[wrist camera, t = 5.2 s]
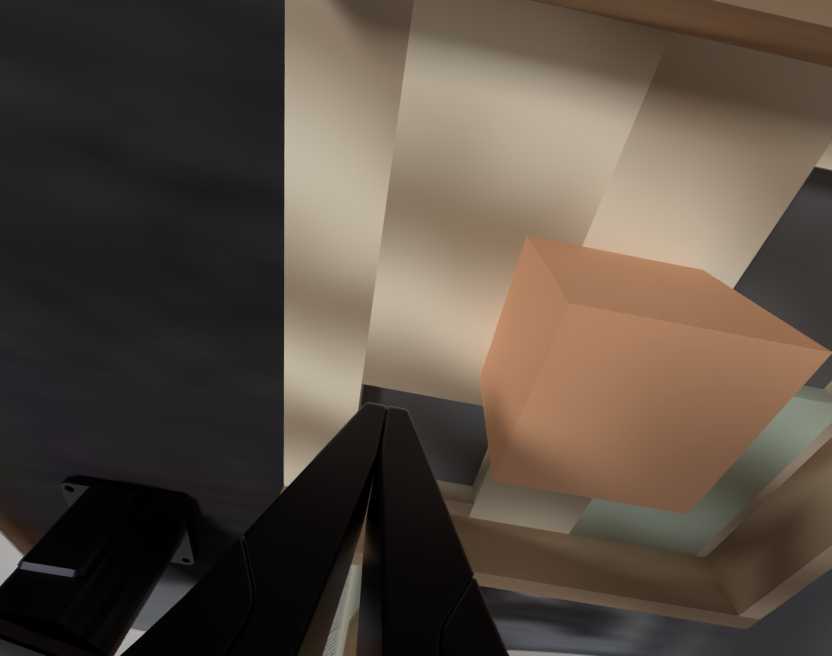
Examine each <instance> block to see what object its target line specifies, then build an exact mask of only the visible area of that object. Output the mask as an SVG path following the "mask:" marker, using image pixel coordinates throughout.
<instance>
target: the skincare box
mask: <svg viewBox="0 0 832 656" xmlns="http://www.w3.org/2000/svg"><path fill="white" fill-rule="evenodd" d="M361 577H362V566H358V565H351V566H350V570H349V573H348V576H347V579H346V582H345V585H344V589H343V592H342V595H341V598H340V601H339V605H338V608H337V611H336V614H335V617H334V621H333V624H332V627H331V630H330V633H329V636H328V640H327V643H326V646H325V649H324V652H323V656H356V648H357V633H358V619H359V605H360V591H361Z"/></svg>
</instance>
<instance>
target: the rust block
mask: <svg viewBox="0 0 832 656" xmlns="http://www.w3.org/2000/svg"><path fill="white" fill-rule="evenodd" d="M831 354H832V352H831V351H829V350H828V349H826V348H824V347H823V346H821V345H820V344H818V343H817V342H815V341H814V340H812V339H810V338H809V337H807V336H806V335H804V334H803V333H801V332H799V331H798V330H796V329H795V328H793V327H792V326H790V325H788V324H787V323H785V322H784V321H782V320H781V319H779V318H777V317H776V316H774V315H773V314H771V313H770V312H768V311H767V310H765V309H763V308H762V307H760V306H759V305H757V304H756V303H754V302H752V301H751V300H749V299H748V298H746V297H745V296H743V295H741V294H740V293H738V292H737V291H735V290H734V289H732V288H730V287H729V286H727V285H726V284H724V283H723V282H721V281H720V280H718V279H716V278H715V277H713V276H712V275H710V274H709V273H707V272H705V271H704V270H701V269H696V268H691V267H686V266H681V265H676V264H670V263H665V262H660V261H655V260H650V259H645V258H640V257H634V256H629V255H624V254H619V253H614V252H609V251H604V250H598V249H593V248H588V247H583V246H578V245H573V244H568V243H562V242H557V241H552V240H547V239H542V238H537V237H532V236H527V237H526V240H525V243H524V246H523V249H522V252H521V255H520V258H519V261H518V264H517V267H516V270H515V273H514V276H513V279H512V282H511V285H510V288H509V291H508V294H507V297H506V300H505V303H504V306H503V309H502V312H501V315H500V318H499V321H498V324H497V327H496V330H495V333H494V336H493V339H492V342H491V345H490V348H489V351H488V354H487V357H486V360H485V363H484V366H483V369H482V372H481V375H480V386H481V394H482V401H483V409H484V417H485V425H486V432H487V440H488V448H489V455H490V463H491V471H492V479H493V481H495V482H501V483H507V484H513V485H519V486H525V487H530V488H536V489H542V490H548V491H554V492H560V493H565V494H571V495H577V496H583V497H589V498H594V499H600V500H606V501H612V502H618V503H624V504H629V505H635V506H641V507H647V508H653V509H659V510H664V511H670V512H676V513H682V514H688V513H689V512H690V511H691V510H692V509H693V508H694V507H695V506H696V504H697V503H698V502H699V501H700V500H701V499H702V498H703V497H704V495H705V494H706V493H707V492H708V491H709V490H710V489H711V488H712V487H713V485H714V484H715V483H716V482H717V481H718V480H719V479H720V478H721V477H722V475H723V474H724V473H725V472H726V471H727V470H728V469H729V468H730V467H731V465H732V464H733V463H734V462H735V461H736V460H737V459H738V458H739V456H740V455H741V454H742V453H743V452H744V451H745V450H746V449H747V448H748V446H749V445H750V444H751V443H752V442H753V441H754V440H755V439H756V438H757V436H758V435H759V434H760V433H761V432H762V431H763V430H764V429H765V428H766V426H767V425H768V424H769V423H770V422H771V421H772V420H773V419H774V418H775V416H776V415H777V414H778V413H779V412H780V411H781V410H782V409H783V407H784V406H785V405H786V404H787V403H788V402H789V401H790V400H791V399H792V397H793V396H794V395H795V394H796V393H797V392H798V391H799V390H800V389H801V387H802V386H803V385H804V384H805V383H806V382H807V381H808V380H809V379H810V377H811V376H812V375H813V374H814V373H815V372H816V371H817V370H818V368H819V367H820V366H821V365H822V364H823V363H824V362H825V361H826V360H827V358H828V357H829V356H830V355H831Z"/></svg>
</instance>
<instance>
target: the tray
mask: <svg viewBox="0 0 832 656" xmlns="http://www.w3.org/2000/svg"><path fill="white" fill-rule="evenodd" d="M527 236H532V237H537V238H542V239H547V240H552V241H557V242H562V243H568V244H573V245H578V246H583V247H588V248H593V249H598V250H604V251H609V252H614V253H619V254H624V255H629V256H634V257H640V258H645V259H650V260H655V261H660V262H665V263H670V264H676V265H681V266H686V267H691V268H696V269H701V270H704V271H705V272H707V273H709V274H710V275H712V276H713V277H715V278H716V279H718V280H720V281H721V282H723V283H724V284H726V285H727V286H729V287H730V288H732V289H734V290H735V291H737V292H738V293H740V294H741V295H743V296H745V297H746V298H748V299H749V300H751V301H752V302H754V303H756V304H757V305H759V306H760V307H762V308H763V309H765V310H767V311H768V312H770V313H771V314H773V315H774V316H776V317H777V318H779V319H781V320H782V321H784V322H785V323H787V324H788V325H790V326H792V327H793V328H795V329H796V330H798V331H799V332H801V333H803V334H804V335H806V336H807V337H809V338H810V339H812V340H814V341H815V342H817V343H818V344H820V345H821V346H823V347H824V348H826V349H828V350H829V351H831V352H832V0H285V253H284V487H283V489H282V491H281V493H282V492H283V491H284V490H285V489H286V488H287V487H288V486H289V485H290V484H291V483H292V482H293V480H294V479H295V478H296V477H297V476H298V475H299V474H300V473H301V472H302V471H303V470H304V469H305V468H306V466H307V465H308V464H309V463H310V462H311V461H312V460H313V459H314V458H315V457H316V456H317V455H318V453H319V452H320V451H321V450H322V449H323V448H324V447H325V446H326V445H327V444H328V443H329V442H330V441H331V439H332V438H333V437H334V436H335V435H336V434H337V433H338V432H339V431H340V430H341V429H342V428H343V427H344V425H345V424H346V423H347V422H348V421H349V420H350V419H351V418H352V417H353V416H354V415H355V414H356V413H357V411H358V410H359V409H360V408H361V407H362V406H363V405H364V404H365V403H367V402H372V403H377V404H382V405H385V406H386V410H387V408H388V407H389V406H393V407H399V408H404V409H407V410H408V411H409V413H410V416H411V418H412V421H413V423H414V426H415V428H416V431H417V433H418V436H419V438H420V441H421V443H422V446H423V448H424V451H425V453H426V456H427V458H428V461H429V463H430V466H431V468H432V471H433V473H434V476H435V478H436V480H437V483H438V485H439V488H440V490H441V493H442V495H443V498H444V500H445V503H446V505H447V508H448V510H449V513H450V515H451V518H452V520H453V523H454V525H455V528H456V530H457V533H458V535H459V538H460V540H461V543H462V545H463V548H464V550H465V553H466V555H467V558H468V560H469V563H470V565H471V567H472V570H473V572H474V576H473V578H475V579H476V580H477V582H478V584H479V586H485V587H491V588H498V589H504V590H510V591H516V592H522V593H528V594H534V595H540V596H546V597H552V598H558V599H564V600H570V601H576V602H583V603H589V604H595V605H601V606H607V607H613V608H619V609H625V610H631V611H637V612H643V613H649V614H655V615H662V616H668V617H674V618H680V619H686V620H692V621H698V622H704V623H710V624H716V625H722V626H728V627H734V628H741V629H748V628H749V627H751V626H752V625H753V624H755V623H756V622H758V621H759V620H760V619H762V618H763V617H765V616H766V615H767V614H769V613H770V612H772V611H773V610H774V609H776V608H777V607H779V606H780V605H781V604H783V603H784V602H786V601H787V600H788V599H790V598H791V597H793V596H794V595H795V594H797V593H798V592H800V591H801V590H802V589H804V588H805V587H806V586H808V585H809V584H811V583H812V582H813V581H815V580H816V579H818V578H819V577H820V576H822V575H823V574H825V573H826V572H827V571H829V570H830V569H832V354H831V355H830V356H829V357H828V358H827V360H826V361H825V362H824V363H823V364H822V365H821V366H820V367H819V368H818V370H817V371H816V372H815V373H814V374H813V375H812V376H811V377H810V379H809V380H808V381H807V382H806V383H805V384H804V385H803V386H802V387H801V389H800V390H799V391H798V392H797V393H796V394H795V395H794V396H793V397H792V399H791V400H790V401H789V402H788V403H787V404H786V405H785V406H784V407H783V409H782V410H781V411H780V412H779V413H778V414H777V415H776V416H775V418H774V419H773V420H772V421H771V422H770V423H769V424H768V425H767V426H766V428H765V429H764V430H763V431H762V432H761V433H760V434H759V435H758V436H757V438H756V439H755V440H754V441H753V442H752V443H751V444H750V445H749V446H748V448H747V449H746V450H745V451H744V452H743V453H742V454H741V455H740V456H739V458H738V459H737V460H736V461H735V462H734V463H733V464H732V465H731V467H730V468H729V469H728V470H727V471H726V472H725V473H724V474H723V475H722V477H721V478H720V479H719V480H718V481H717V482H716V483H715V484H714V485H713V487H712V488H711V489H710V490H709V491H708V492H707V493H706V494H705V495H704V497H703V498H702V499H701V500H700V501H699V502H698V503H697V504H696V506H695V507H694V508H693V509H692V510H691V511H690V512H689V513H688V514H682V513H676V512H670V511H664V510H659V509H653V508H647V507H641V506H635V505H629V504H624V503H618V502H612V501H606V500H600V499H594V498H589V497H583V496H577V495H571V494H565V493H560V492H554V491H548V490H542V489H536V488H530V487H525V486H519V485H513V484H507V483H501V482H495V481H493V479H492V471H491V463H490V455H489V448H488V440H487V432H486V425H485V417H484V409H483V401H482V394H481V386H480V375H481V372H482V369H483V366H484V363H485V360H486V357H487V354H488V351H489V348H490V345H491V342H492V339H493V336H494V333H495V330H496V327H497V324H498V321H499V318H500V315H501V312H502V309H503V306H504V303H505V300H506V297H507V294H508V291H509V288H510V285H511V282H512V279H513V276H514V273H515V270H516V267H517V264H518V261H519V258H520V255H521V252H522V249H523V246H524V243H525V240H526V237H527ZM385 415H386V414H385ZM372 483H373V482H372ZM371 488H372V487H371ZM370 493H371V492H370ZM369 498H370V497H369ZM368 504H369V502H368ZM367 509H368V507H367ZM366 516H367V512H366ZM366 516H365V521H364V524H363V528H362V531H361V534H360V538H359V541H358V544H357V547H356V550H355V554H354V557H353V560H352V563H351V564H352V565H358V566H362V562H363V548H364V534H365V524H366Z"/></svg>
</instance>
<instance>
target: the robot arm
mask: <svg viewBox="0 0 832 656" xmlns="http://www.w3.org/2000/svg"><path fill="white" fill-rule="evenodd" d="M385 414H386V415H385ZM372 482H373V483H372ZM371 487H372V488H371ZM60 488H61V490H62V493H63V495H64V497H65V499H66V501H67V503H68V505H69V507H70V508H69V509H68V510H67V511H66V512H65V513H64V514H63V515H62V516H61V517H60V518H59V519H58V520H57V521H56V523H55V524H54V525H53V526H52V527H51V528H50V529H49V530H48V531H47V532H46V533H45V534H44V535H43V537H42V538H41V539H40V540H39V541H38V542H37V543H36V544H35V545H34V546H33V547H32V548H31V549H30V551H29V552H28V553H27V554H26V555H25V556H24V557H23V558H22V559H21V560H20V562H19V563H18V567H17V569H16V570H15V571H14V572H13V573H12V574H11V575H10V576H9V577H8V578H7V579H6V580H5V581H4V583H3V584H2V585H1V586H0V656H114V655H115V653H116V652H117V650H118V648H119V647H120V645H121V643H122V642H123V640H124V638H125V636H126V635H127V633H128V632H129V630H130V628H131V627H132V625H133V623H134V622H135V620H136V618H137V617H138V615H139V613H140V612H141V610H142V608H143V607H144V605H145V603H146V602H147V600H148V598H149V597H150V595H151V593H152V592H153V590H154V588H155V587H156V585H157V583H158V582H159V580H160V578H161V577H162V575H163V573H164V572H165V570H166V568H167V567H168V565H169V563H170V562H173V563H179V564H185V565H192V564H194V562H195V560H196V559H197V557H198V554H197V549H196V544H195V540H194V535H193V530H192V525H191V521H190V516H189V511H188V506H187V501H186V499H185V498H184V497H183V496H181V495H178V494H174V493H168V492H162V491H156V490H150V489H144V488H138V487H132V486H126V485H120V484H114V483H109V482H103V481H97V480H91V479H85V478H79V477H72V476H69V477H67V478H66V479H65V480H64V481H63V482H62V483H61V484H60ZM370 492H371V493H370ZM369 497H370V498H369ZM368 502H369V504H368ZM367 507H368V509H367ZM366 512H367V516H366ZM365 516H366V524H365V534H364V548H363V562H362V577H361V591H360V605H359V619H358V633H357V648H356V656H509V654H508V652H507V650H506V648H505V646H504V644H503V641H502V639H501V637H500V634H499V632H498V630H497V627H496V625H495V623H494V620H493V618H492V616H491V614H490V611H489V609H488V607H487V604H486V602H485V599H484V597H483V594H482V592H481V589H480V587H479V584H478V582H477V580H476V579H475V578H473V576H474V572H473V570H472V567H471V565H470V563H469V560H468V558H467V555H466V553H465V550H464V548H463V545H462V543H461V540H460V538H459V535H458V533H457V530H456V528H455V525H454V523H453V520H452V518H451V515H450V513H449V510H448V508H447V505H446V503H445V500H444V498H443V495H442V493H441V490H440V488H439V485H438V483H437V480H436V478H435V476H434V473H433V471H432V468H431V466H430V463H429V461H428V458H427V456H426V453H425V451H424V448H423V446H422V443H421V441H420V438H419V436H418V433H417V431H416V428H415V426H414V423H413V421H412V418H411V416H410V413H409V411H408V410H407V409H404V408H399V407H393V406H389V407H388V408H387V410H386V406H385V405H382V404H377V403H372V402H367V403H365V404H364V405H363V406H362V407H361V408H360V409H359V410H358V411H357V413H356V414H355V415H354V416H353V417H352V418H351V419H350V420H349V421H348V422H347V423H346V424H345V425H344V427H343V428H342V429H341V430H340V431H339V432H338V433H337V434H336V435H335V436H334V437H333V438H332V439H331V441H330V442H329V443H328V444H327V445H326V446H325V447H324V448H323V449H322V450H321V451H320V452H319V453H318V455H317V456H316V457H315V458H314V459H313V460H312V461H311V462H310V463H309V464H308V465H307V466H306V468H305V469H304V470H303V471H302V472H301V473H300V474H299V475H298V476H297V477H296V478H295V479H294V480H293V482H292V483H291V484H290V485H289V486H288V487H287V488H286V489H285V490H284V491H283V492H282V493H281V494H280V496H279V497H278V498H277V499H276V500H275V501H274V502H273V503H272V504H271V505H270V506H269V507H268V508H267V510H266V511H265V512H264V513H263V514H262V515H261V516H260V517H259V518H258V519H257V520H256V521H255V523H254V524H253V525H252V526H251V527H250V528H249V529H248V530H247V531H246V532H245V533H244V534H243V540H242V539H239V540H238V541H237V542H236V543H235V544H234V545H233V546H232V547H231V548H230V549H229V550H228V551H227V552H226V553H225V555H224V556H223V557H222V558H221V559H220V560H219V561H218V562H217V563H216V564H215V565H214V566H213V567H212V568H211V569H210V570H209V571H208V572H207V573H206V574H205V575H204V576H203V577H202V578H201V579H200V581H199V582H198V583H197V584H196V585H195V586H194V587H193V588H192V589H191V590H190V591H189V592H188V593H187V594H186V595H185V596H184V597H183V598H182V599H181V600H180V601H179V602H178V603H176V604H175V605H174V606H173V607H172V608H171V609H170V610H169V611H168V612H167V613H166V614H165V615H164V616H163V617H162V618H160V619H159V620H158V621H157V622H156V623H155V624H154V625H153V626H152V627H151V628H150V629H149V630H148V631H147V632H145V634H143V635H142V636H141V637H140V638H139V639H138V640H137V641H136V642H135V643H134V644H132V645H131V646H130V647H129V648H128V649H127V650H126V651H125V652H124V653H122V654H121V655H120V656H323V652H324V649H325V646H326V643H327V640H328V636H329V633H330V630H331V627H332V624H333V621H334V617H335V614H336V611H337V608H338V605H339V601H340V598H341V595H342V592H343V589H344V585H345V582H346V579H347V576H348V573H349V570H350V566H351V563H352V560H353V557H354V554H355V550H356V547H357V544H358V541H359V538H360V534H361V531H362V528H363V524H364V521H365Z"/></svg>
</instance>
